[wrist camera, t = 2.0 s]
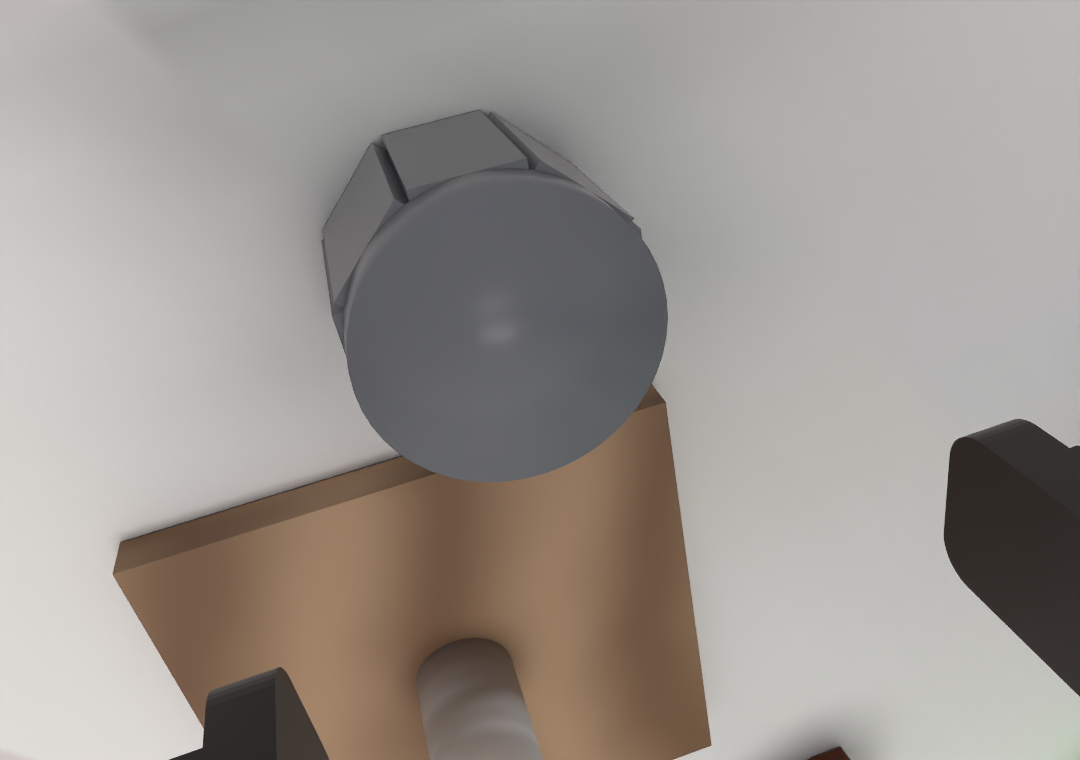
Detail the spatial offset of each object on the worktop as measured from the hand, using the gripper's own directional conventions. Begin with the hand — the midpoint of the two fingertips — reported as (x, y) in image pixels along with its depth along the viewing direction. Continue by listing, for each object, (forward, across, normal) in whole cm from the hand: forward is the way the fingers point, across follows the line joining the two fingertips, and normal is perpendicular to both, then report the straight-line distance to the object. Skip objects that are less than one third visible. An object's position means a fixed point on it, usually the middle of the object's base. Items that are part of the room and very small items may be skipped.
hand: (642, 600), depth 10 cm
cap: (+12, 0, 0) cm, 12 cm away
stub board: (+12, +3, +12) cm, 17 cm away
